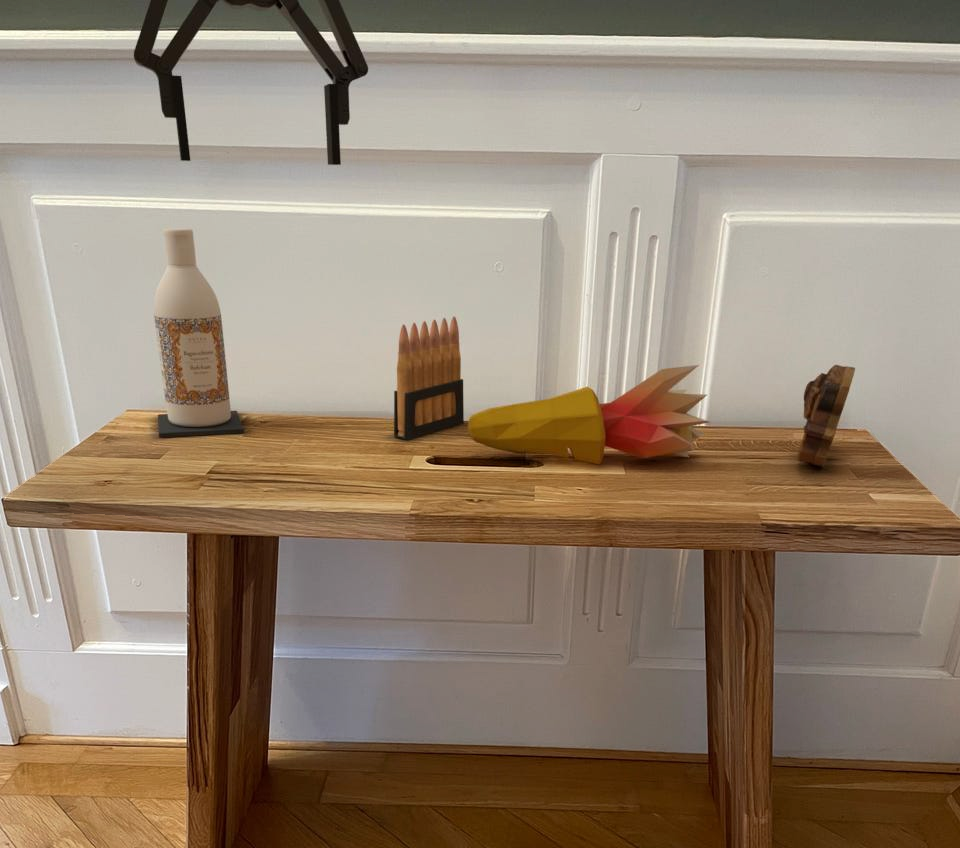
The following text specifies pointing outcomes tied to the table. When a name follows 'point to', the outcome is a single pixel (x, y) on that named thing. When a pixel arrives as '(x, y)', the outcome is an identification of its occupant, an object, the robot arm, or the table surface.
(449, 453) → the table surface
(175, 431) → the mat
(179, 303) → the bath foam
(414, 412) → the ammunition clip
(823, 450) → the wooden carving
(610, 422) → the torch
